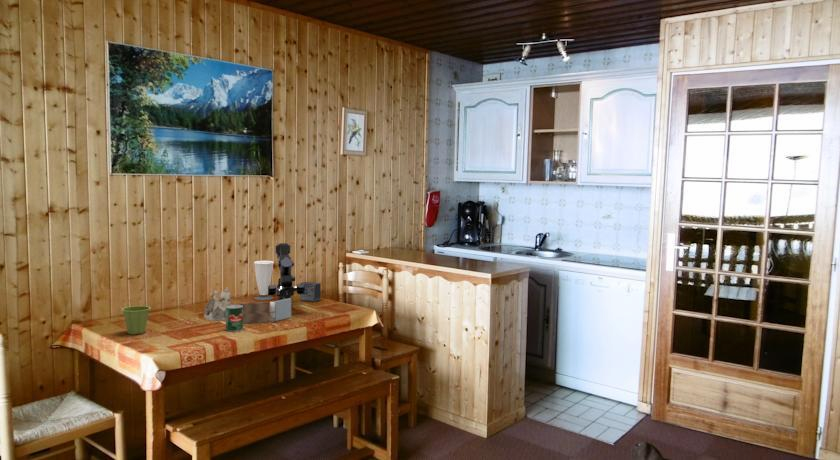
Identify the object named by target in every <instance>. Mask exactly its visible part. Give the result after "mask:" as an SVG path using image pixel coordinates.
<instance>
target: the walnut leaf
mask: <svg viewBox="0 0 840 460" xmlns="http://www.w3.org/2000/svg"><path fill="white" fill-rule="evenodd" d="M238 305H243V325H245V324H248V325H249V324H265V323H267V324H268V323H271V324H272V323H273V324H274V323H276V321H275V312H270V302H269V301H263V302H262V301H261V302H239V304H238Z"/></svg>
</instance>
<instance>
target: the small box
mask: <svg viewBox="0 0 840 460" xmlns="http://www.w3.org/2000/svg"><path fill="white" fill-rule="evenodd" d="M299 284H304V285H305V294H299V295H300V296H299V299H300V300H299V301H300V302H311V303H316V302H320V301H321V298H322V297H321V296H322V295H321V292H322V291H321V290H322V289H321V286H322V285H321V282H311V281H304V282H300V283H299Z"/></svg>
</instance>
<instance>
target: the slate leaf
mask: <svg viewBox="0 0 840 460" xmlns="http://www.w3.org/2000/svg"><path fill="white" fill-rule="evenodd" d="M291 305H292V297H291V298H289V299H284V300H279V301H278V300H275V301H270V302H269V313H270V312H275V322H277V321H282V320H285V319H286V320H287V319H291V318H292V306H291Z"/></svg>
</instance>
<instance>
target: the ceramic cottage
mask: <svg viewBox="0 0 840 460" xmlns="http://www.w3.org/2000/svg"><path fill="white" fill-rule="evenodd" d="M228 305H232V296H231V292H229V287H225V289H224V290H223V291H221V292H220V296H219V291H218V290H217V291H216V290H215V291H214V292H213V296H212V297H211V299H210V301H208V302H207V303H206V304H205V305H204V307H205V309H204V310H205V312H204V313H203V317H204V318H205V319H207V320H209V321H211V320H213V321H214V322H216V321H218V322H224V321H226V306H228ZM223 320H224V321H223Z"/></svg>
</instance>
